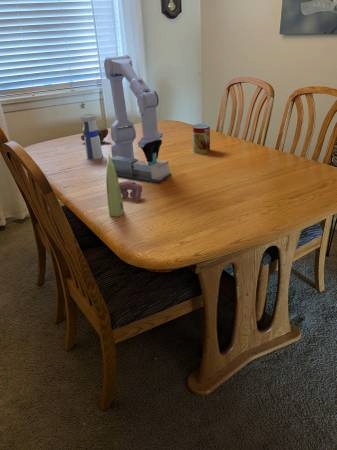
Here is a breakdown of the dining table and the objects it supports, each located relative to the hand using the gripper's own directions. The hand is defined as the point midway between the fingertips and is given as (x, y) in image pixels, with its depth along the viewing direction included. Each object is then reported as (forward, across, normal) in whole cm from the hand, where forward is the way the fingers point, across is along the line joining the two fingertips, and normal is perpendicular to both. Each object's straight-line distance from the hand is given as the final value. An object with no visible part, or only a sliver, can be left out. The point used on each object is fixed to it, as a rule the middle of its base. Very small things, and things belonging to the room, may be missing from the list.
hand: (152, 160), depth 148 cm
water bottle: (+8, +12, +41) cm, 44 cm away
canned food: (+8, +38, -3) cm, 39 cm away
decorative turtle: (+8, +31, +56) cm, 65 cm away
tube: (+8, -32, -6) cm, 33 cm away
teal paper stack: (+5, 0, +4) cm, 6 cm away
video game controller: (+8, -20, -2) cm, 22 cm away
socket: (+7, 0, -3) cm, 8 cm away
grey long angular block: (+7, 0, +7) cm, 10 cm away
